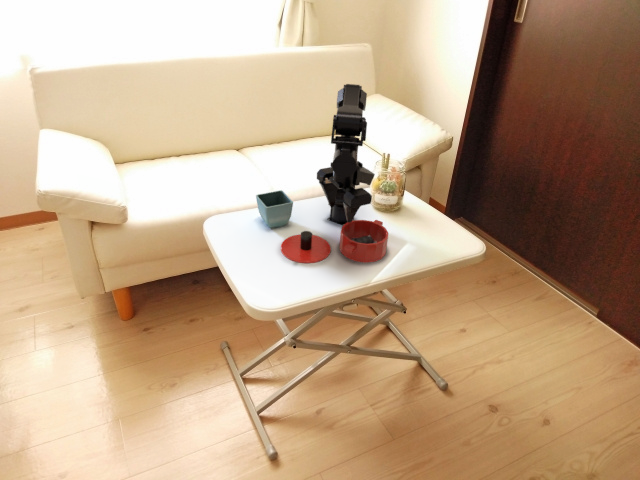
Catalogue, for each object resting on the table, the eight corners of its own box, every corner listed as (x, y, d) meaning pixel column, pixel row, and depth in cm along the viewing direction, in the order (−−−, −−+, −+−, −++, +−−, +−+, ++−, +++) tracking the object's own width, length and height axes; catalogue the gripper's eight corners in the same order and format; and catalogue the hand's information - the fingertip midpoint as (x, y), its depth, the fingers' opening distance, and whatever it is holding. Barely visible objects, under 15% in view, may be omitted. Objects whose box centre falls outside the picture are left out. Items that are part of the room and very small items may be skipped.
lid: (270, 252, 127) (270, 236, 124) (299, 232, 138) (300, 216, 134) (312, 271, 121) (313, 254, 118) (339, 248, 131) (341, 231, 128)
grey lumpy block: (356, 255, 128) (357, 242, 126) (349, 248, 131) (350, 235, 129) (375, 250, 131) (377, 238, 128) (368, 243, 134) (370, 231, 131)
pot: (325, 257, 127) (327, 238, 124) (358, 229, 140) (360, 211, 137) (367, 274, 121) (370, 254, 118) (396, 244, 135) (400, 225, 131)
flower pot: (266, 233, 136) (266, 207, 131) (255, 220, 142) (255, 194, 137) (293, 228, 139) (293, 202, 134) (281, 214, 146) (282, 189, 141)
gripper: (392, 169, 112) (384, 224, 120) (352, 144, 125) (347, 194, 134) (354, 177, 107) (349, 233, 115) (317, 149, 121) (314, 201, 129)
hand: (340, 214), depth 124 cm, fingers open, 9 cm apart
